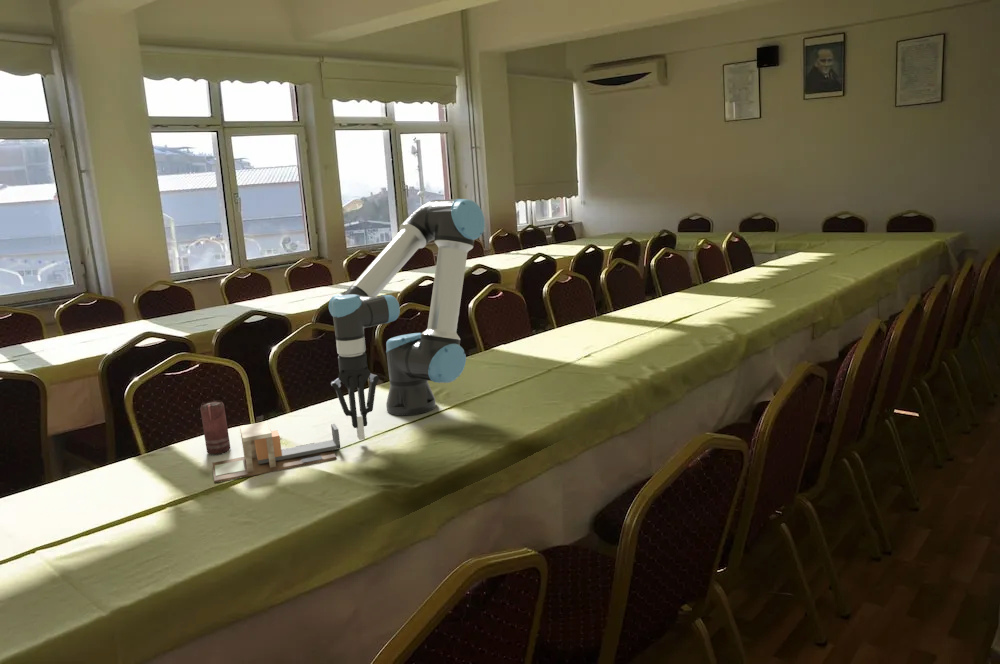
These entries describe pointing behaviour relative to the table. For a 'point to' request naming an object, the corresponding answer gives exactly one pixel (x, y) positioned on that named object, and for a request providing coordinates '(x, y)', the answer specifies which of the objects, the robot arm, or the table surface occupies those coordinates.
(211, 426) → the can
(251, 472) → the tunnel board
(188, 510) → the table surface
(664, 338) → the table surface
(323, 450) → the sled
